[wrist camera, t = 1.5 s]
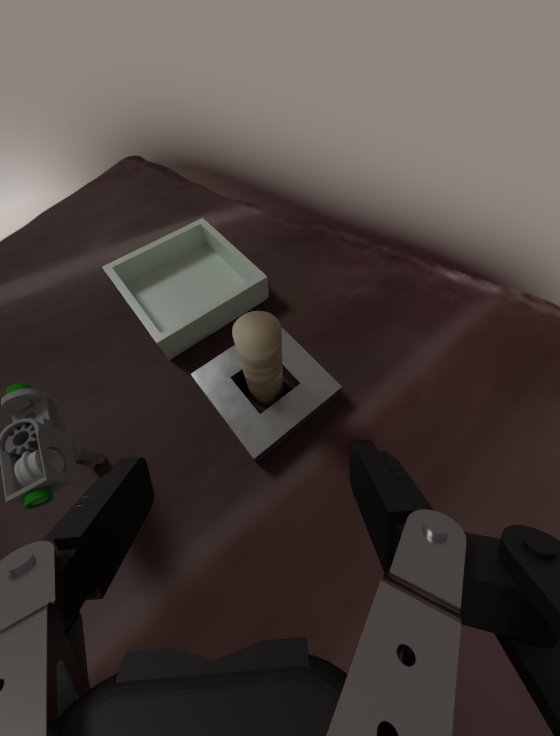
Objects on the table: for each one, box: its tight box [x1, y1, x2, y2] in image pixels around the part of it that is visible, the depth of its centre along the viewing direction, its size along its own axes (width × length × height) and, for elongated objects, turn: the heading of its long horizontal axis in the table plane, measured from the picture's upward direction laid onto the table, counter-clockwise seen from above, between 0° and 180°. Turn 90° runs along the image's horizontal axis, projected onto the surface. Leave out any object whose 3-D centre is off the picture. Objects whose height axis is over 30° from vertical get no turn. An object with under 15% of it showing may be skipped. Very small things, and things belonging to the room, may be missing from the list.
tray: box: [102, 218, 269, 360], centre depth 39 cm, size 16×16×4 cm
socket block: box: [191, 327, 342, 463], centre depth 32 cm, size 12×12×2 cm
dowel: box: [232, 311, 283, 405], centre depth 28 cm, size 4×4×12 cm
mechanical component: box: [0, 384, 105, 509], centre depth 25 cm, size 3×10×10 cm, turn 32°
